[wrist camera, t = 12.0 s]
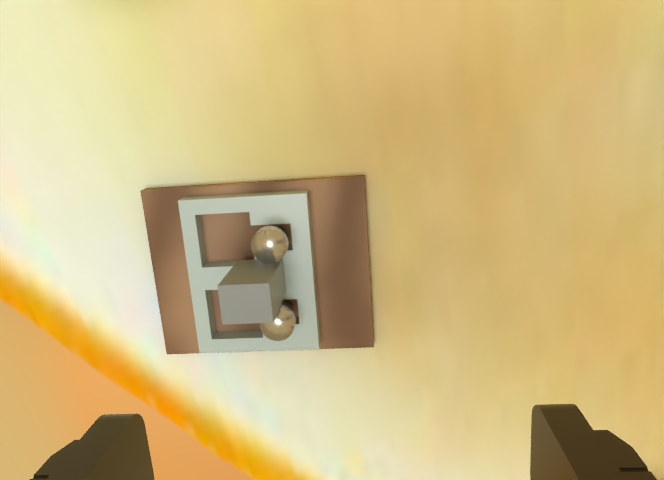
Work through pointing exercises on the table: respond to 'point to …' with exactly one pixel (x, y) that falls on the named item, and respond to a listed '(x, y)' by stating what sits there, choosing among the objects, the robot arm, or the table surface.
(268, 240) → the keyhole posts
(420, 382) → the table surface
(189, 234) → the slotted plate
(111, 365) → the table surface
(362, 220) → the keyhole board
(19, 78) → the table surface
